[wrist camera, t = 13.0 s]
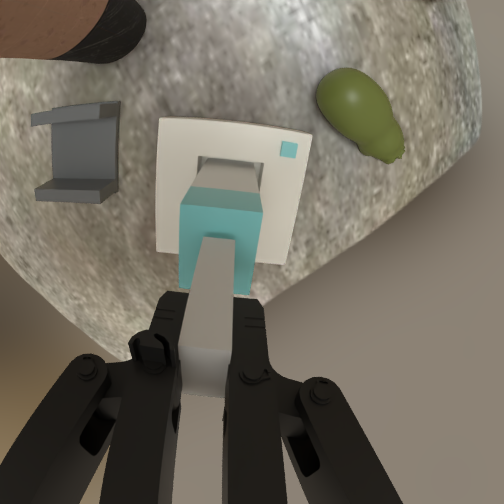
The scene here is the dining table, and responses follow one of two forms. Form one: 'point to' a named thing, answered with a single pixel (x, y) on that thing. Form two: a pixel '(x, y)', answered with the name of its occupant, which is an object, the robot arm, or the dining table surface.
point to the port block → (232, 148)
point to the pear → (361, 113)
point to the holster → (81, 152)
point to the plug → (221, 218)
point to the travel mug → (70, 29)
